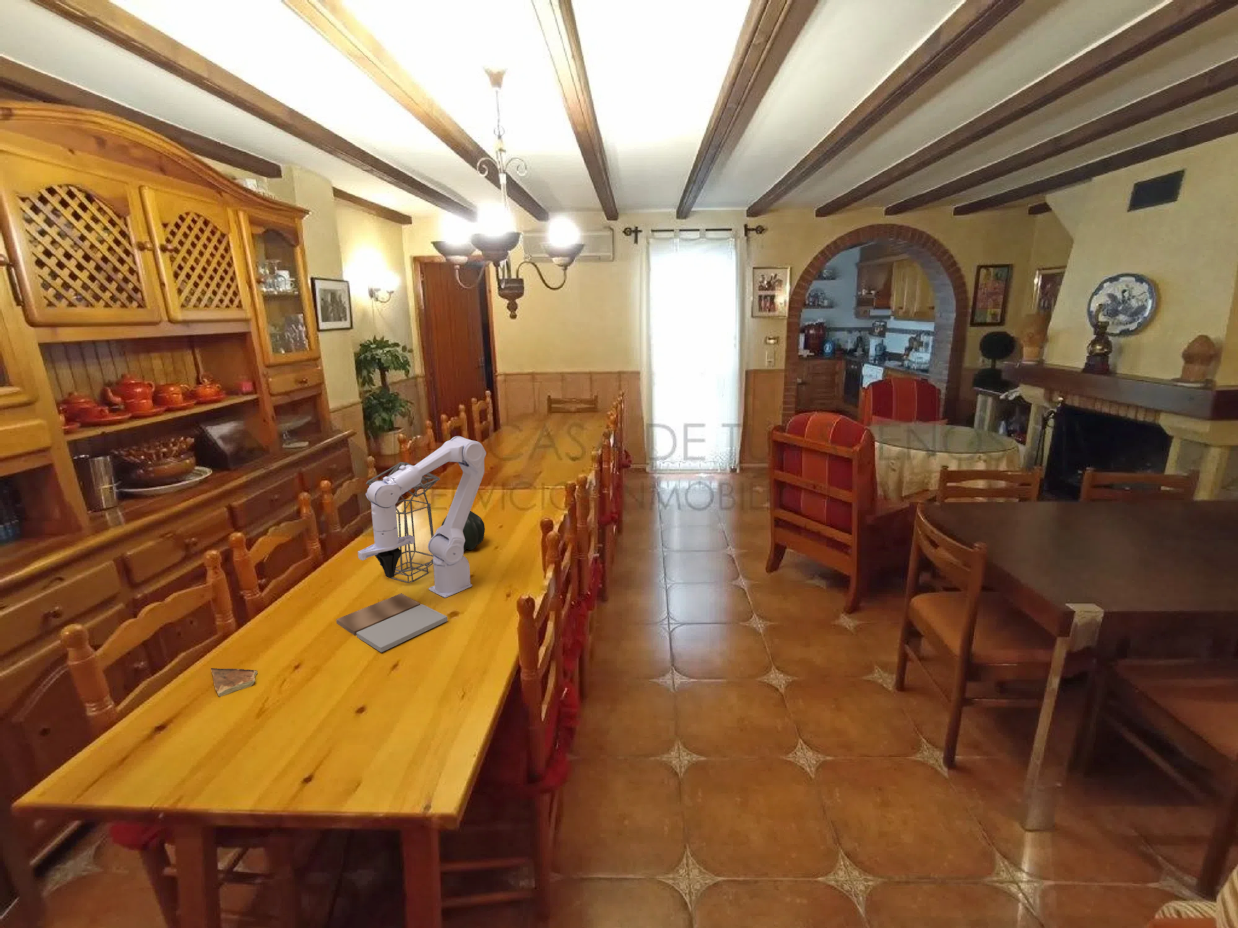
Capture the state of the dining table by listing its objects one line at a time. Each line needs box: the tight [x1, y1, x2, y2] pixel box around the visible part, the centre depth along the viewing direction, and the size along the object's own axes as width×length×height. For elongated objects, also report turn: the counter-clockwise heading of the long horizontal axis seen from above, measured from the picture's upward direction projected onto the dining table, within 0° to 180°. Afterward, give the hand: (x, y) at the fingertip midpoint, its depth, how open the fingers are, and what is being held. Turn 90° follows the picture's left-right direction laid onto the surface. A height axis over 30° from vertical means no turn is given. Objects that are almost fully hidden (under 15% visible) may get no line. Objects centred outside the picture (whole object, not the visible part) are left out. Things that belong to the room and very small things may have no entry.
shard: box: [210, 667, 258, 698], centre depth 118 cm, size 11×8×2 cm
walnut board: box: [335, 593, 421, 637], centre depth 144 cm, size 18×9×1 cm, turn 142°
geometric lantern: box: [365, 461, 441, 584], centre depth 163 cm, size 16×16×35 cm
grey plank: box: [356, 603, 448, 653], centre depth 138 cm, size 18×11×1 cm, turn 142°
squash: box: [440, 510, 486, 552], centre depth 187 cm, size 14×15×15 cm
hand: (389, 576), depth 145 cm, fingers closed
